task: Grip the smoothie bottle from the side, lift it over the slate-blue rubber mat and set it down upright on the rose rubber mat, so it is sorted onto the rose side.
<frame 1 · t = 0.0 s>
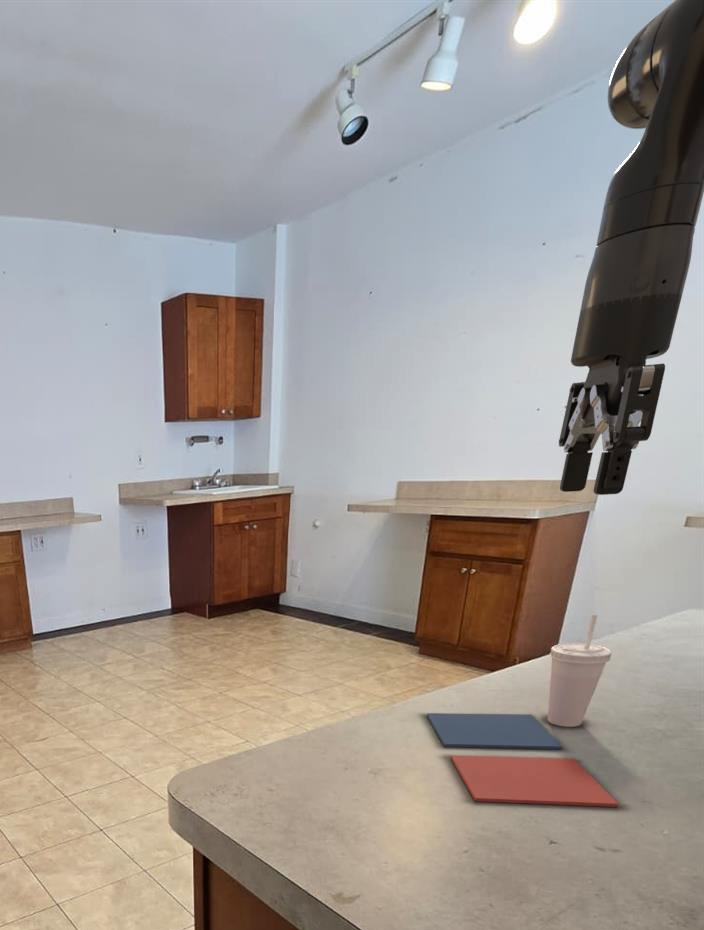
hand: (588, 492, 65), 28 cm above the countertop, tool pointing down, fingers open, 8 cm apart
rose mat: (526, 780, 70), on the countertop
blue mat: (489, 731, 82), on the countertop
smoothie: (563, 723, 84), on the countertop
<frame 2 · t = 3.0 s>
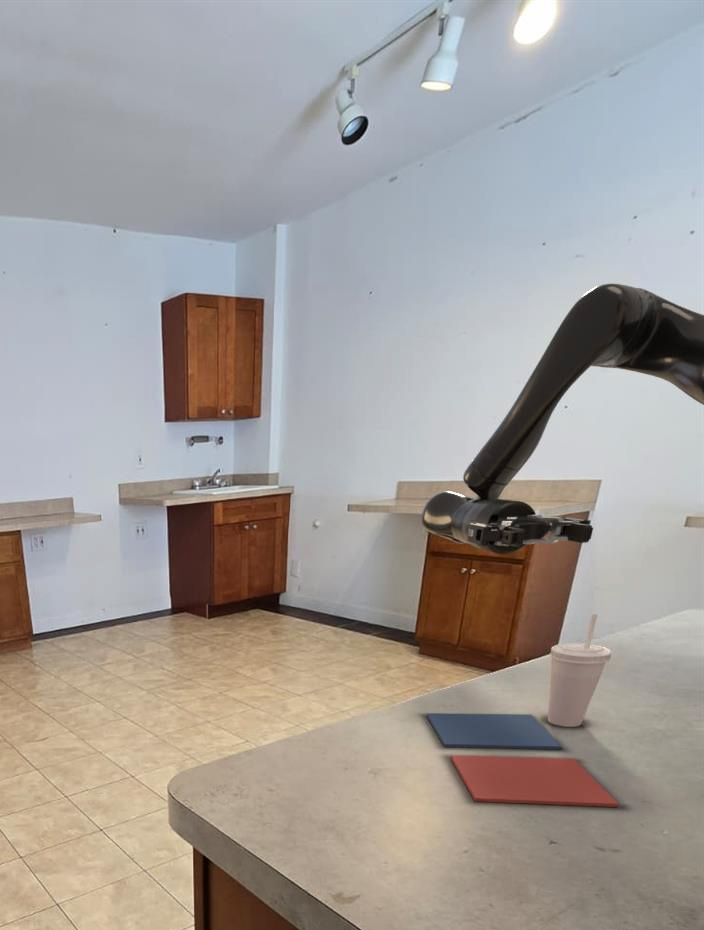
hand: (554, 536, 84), 22 cm above the countertop, tool horizontal, fingers open, 8 cm apart
nothing on the countertop moved.
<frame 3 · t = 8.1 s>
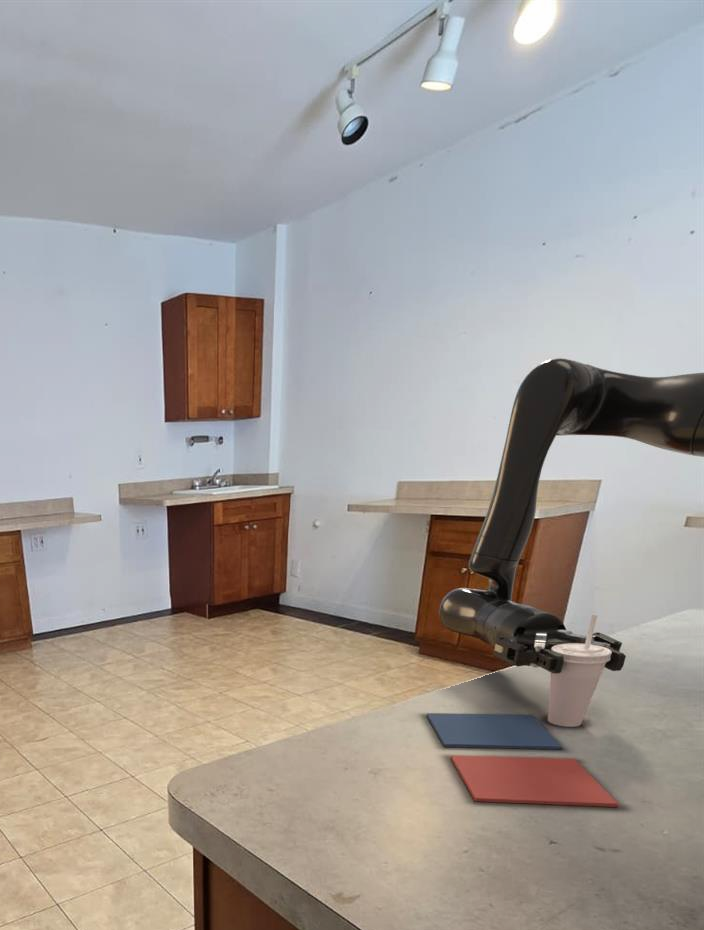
hand: (589, 664, 78), 8 cm above the countertop, tool horizontal, fingers closed on smoothie, 6 cm apart
smoothie: (563, 723, 84), on the countertop, touching gripper
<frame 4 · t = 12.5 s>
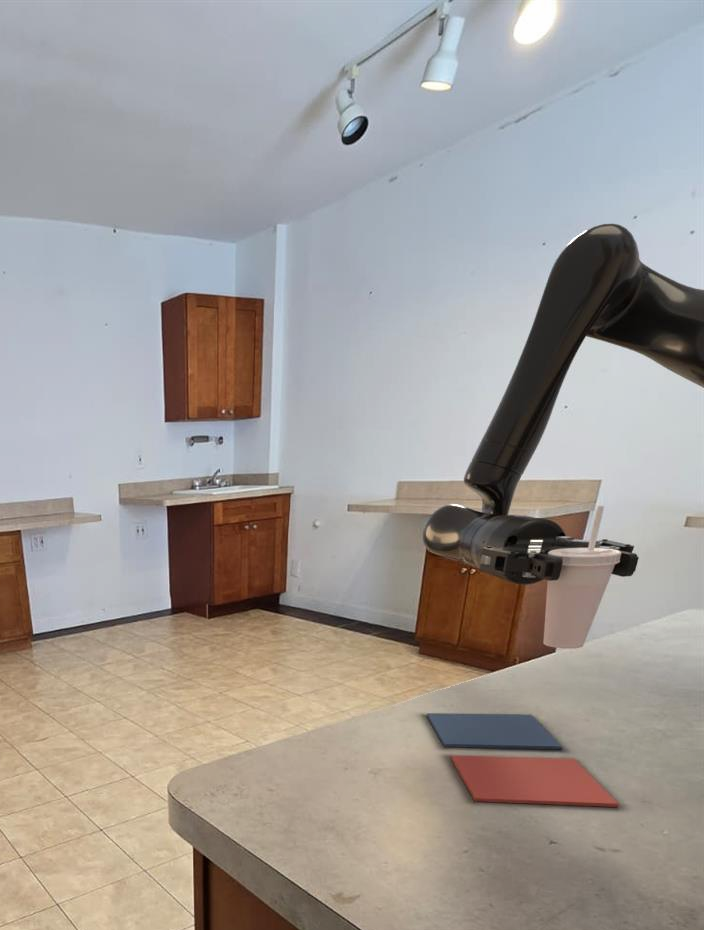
hand: (594, 567, 64), 22 cm above the countertop, tool horizontal, fingers closed on smoothie, 6 cm apart
smoothie: (562, 645, 70), point 13 cm above the countertop, touching gripper
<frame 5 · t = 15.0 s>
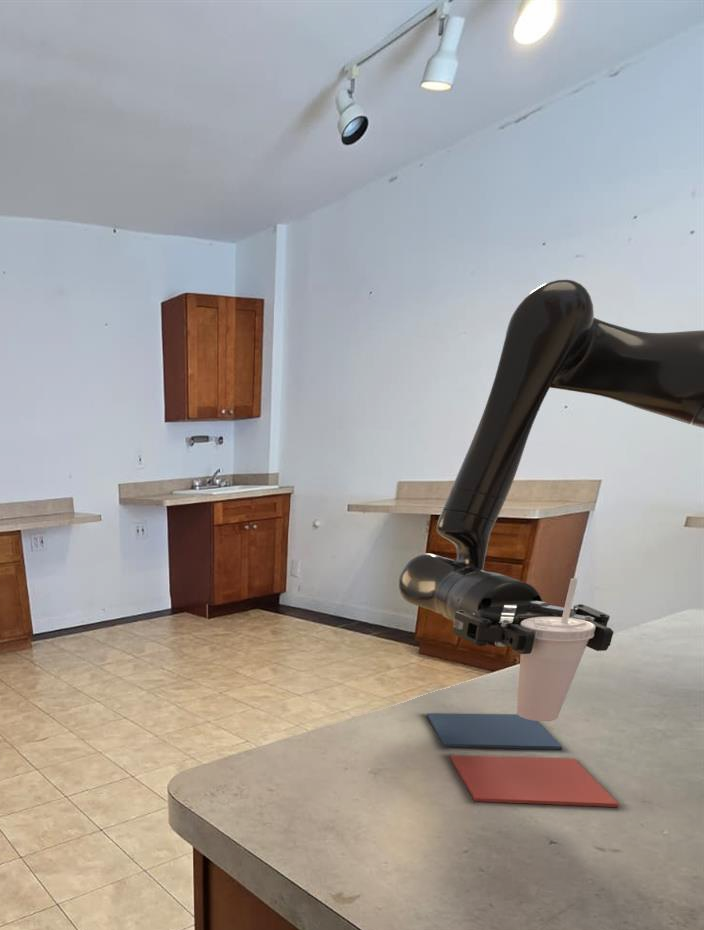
hand: (567, 642, 61), 16 cm above the countertop, tool horizontal, fingers closed on smoothie, 6 cm apart
smoothie: (536, 716, 67), point 7 cm above the countertop, touching gripper
when the fingers open (9 cm above the countertop, at t = 17.4 s): smoothie stays where it is, resting on rose mat.
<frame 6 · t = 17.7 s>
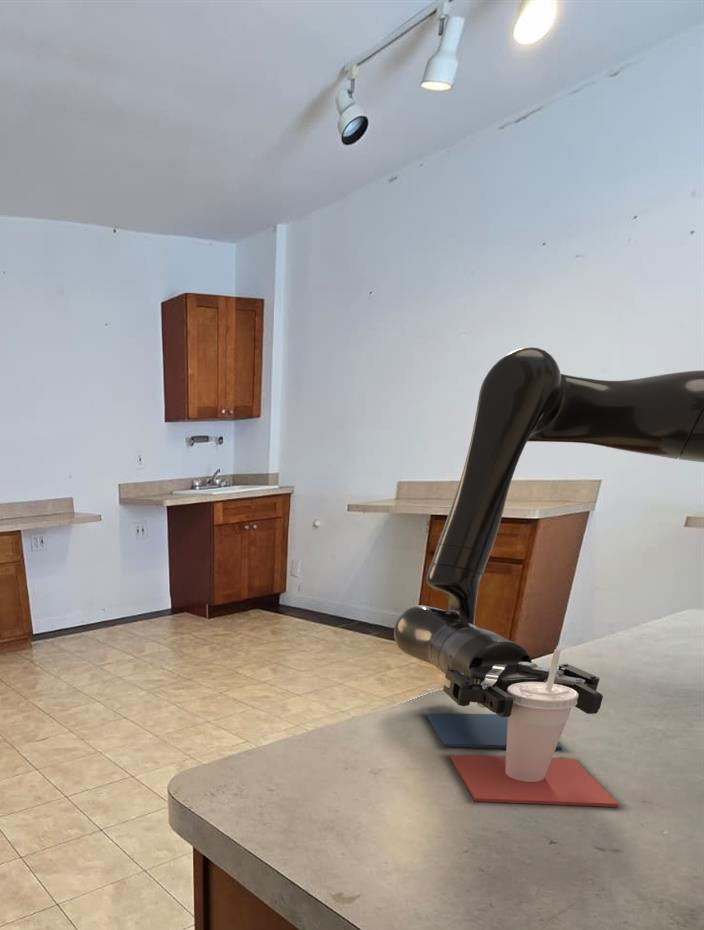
hand: (552, 706, 64), 9 cm above the countertop, tool horizontal, fingers open, 8 cm apart
smoothie: (524, 776, 70), resting on rose mat
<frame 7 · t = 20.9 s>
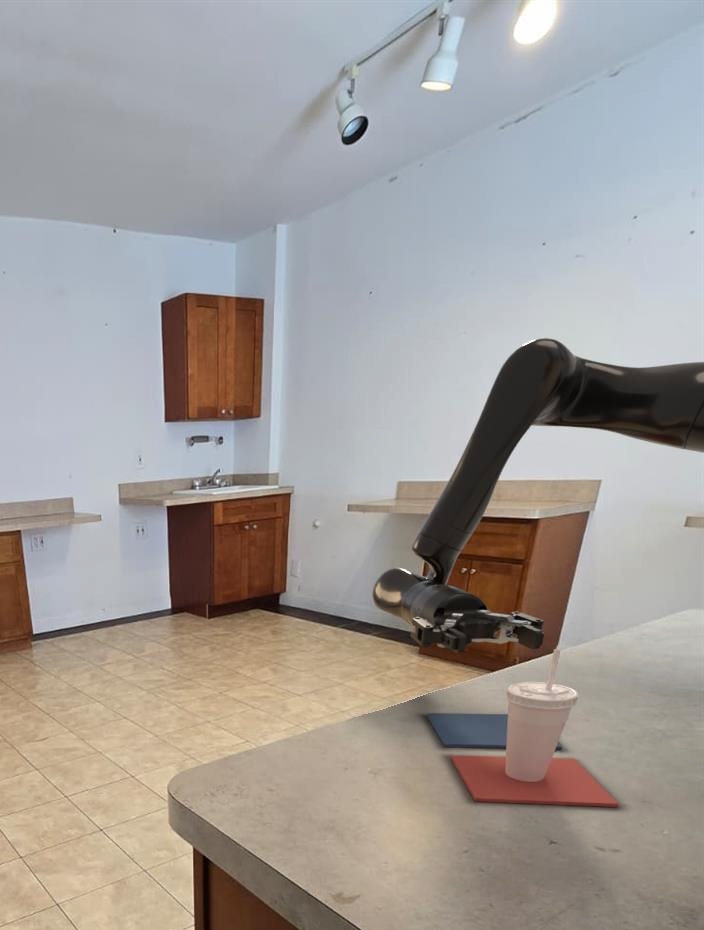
hand: (500, 642, 75), 12 cm above the countertop, tool horizontal, fingers open, 8 cm apart
nothing on the countertop moved.
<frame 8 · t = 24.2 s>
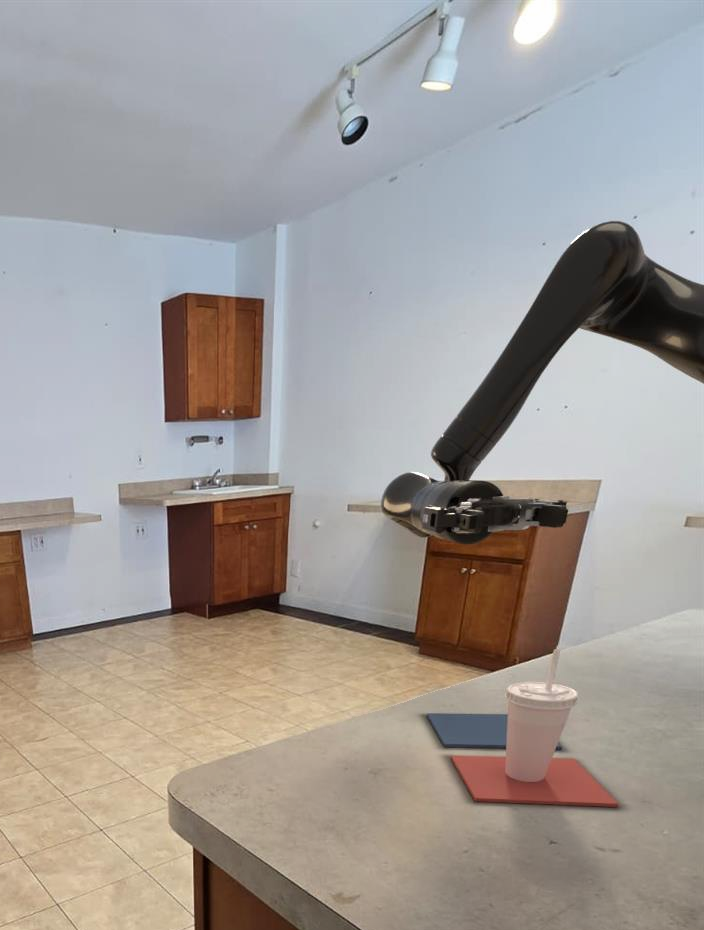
hand: (520, 519, 69), 26 cm above the countertop, tool horizontal, fingers open, 8 cm apart
nothing on the countertop moved.
at the end: smoothie inside the target area (0.7 cm from its centre), resting on rose mat; smoothie tilted 0°; the gripper is holding nothing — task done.
